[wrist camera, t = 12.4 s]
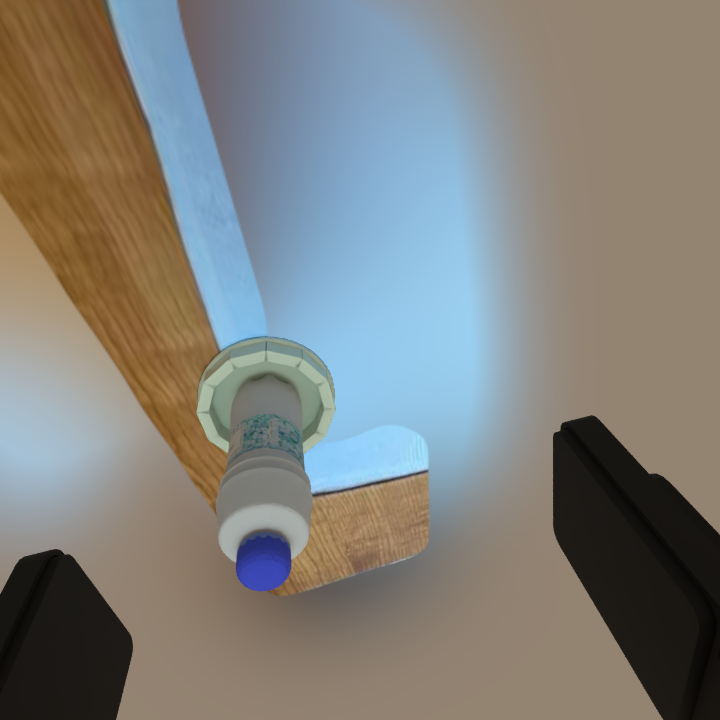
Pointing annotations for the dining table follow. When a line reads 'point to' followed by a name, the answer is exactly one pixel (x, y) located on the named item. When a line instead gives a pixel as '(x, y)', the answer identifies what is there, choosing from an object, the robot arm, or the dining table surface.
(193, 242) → the dining table surface
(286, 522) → the bottle
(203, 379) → the dish
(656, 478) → the robot arm
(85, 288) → the dining table surface
